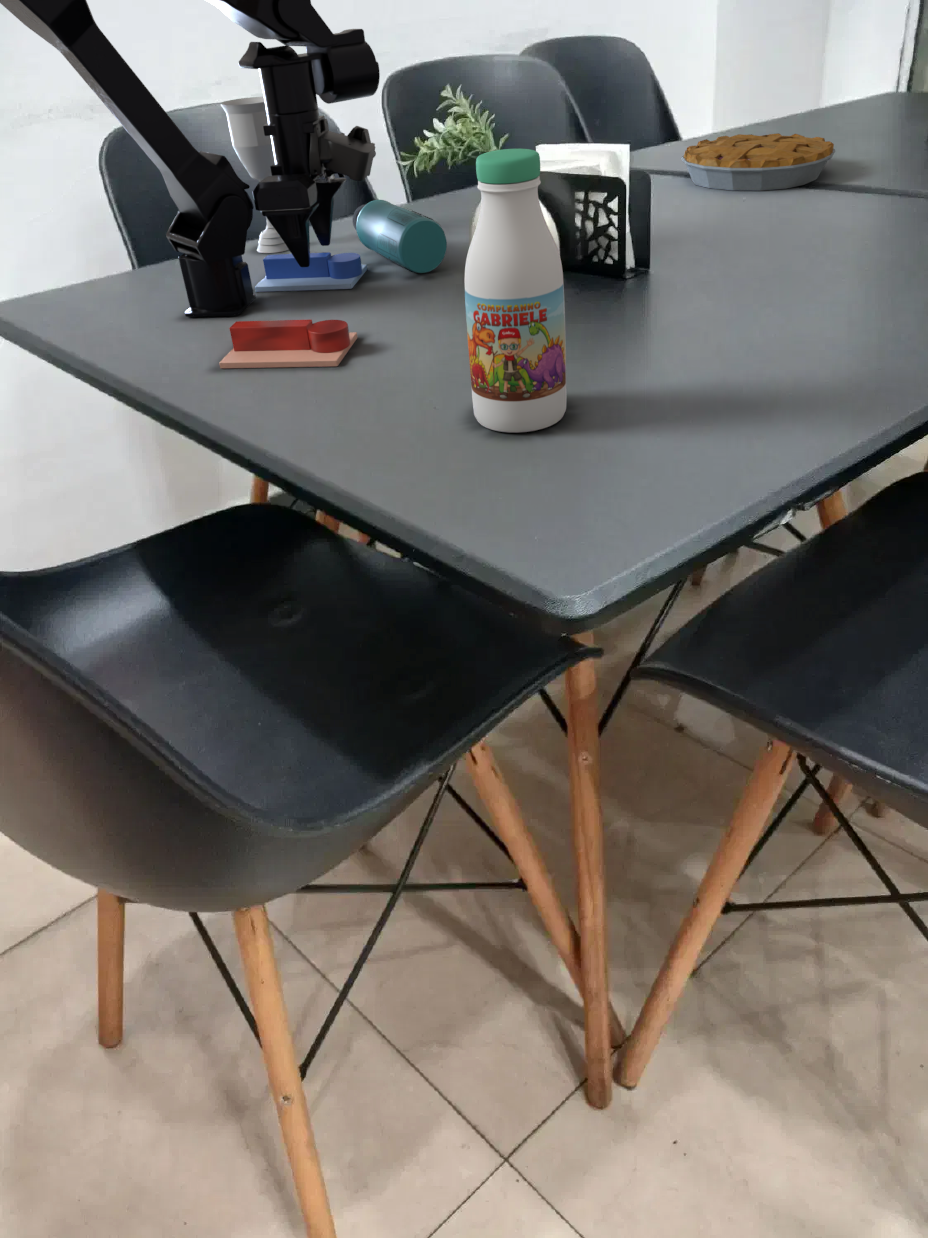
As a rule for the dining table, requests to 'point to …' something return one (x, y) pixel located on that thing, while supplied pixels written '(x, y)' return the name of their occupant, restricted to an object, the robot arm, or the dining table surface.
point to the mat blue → (307, 283)
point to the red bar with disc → (290, 335)
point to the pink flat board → (284, 358)
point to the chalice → (254, 153)
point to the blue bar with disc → (313, 266)
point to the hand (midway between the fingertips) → (315, 255)
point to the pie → (757, 161)
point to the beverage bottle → (400, 235)
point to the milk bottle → (514, 300)
